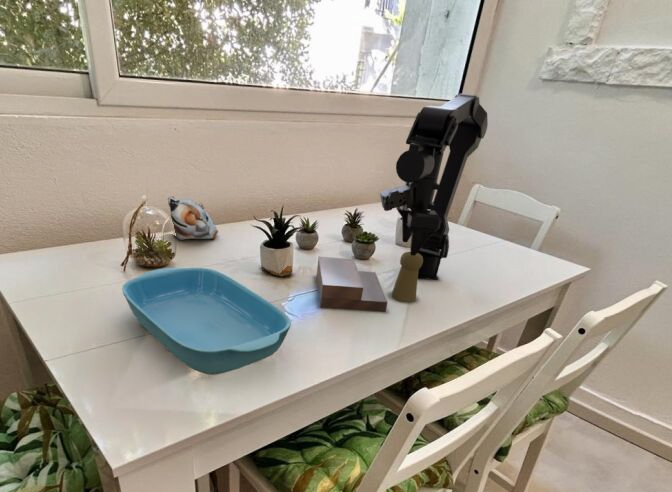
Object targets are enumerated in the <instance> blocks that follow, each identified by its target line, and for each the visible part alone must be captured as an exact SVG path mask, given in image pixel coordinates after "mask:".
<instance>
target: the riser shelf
mask: <svg viewBox="0 0 672 492" xmlns="http://www.w3.org/2000/svg"><path fill="white" fill-rule="evenodd" d="M315 277H316V286H317V294H318V301H319V307H320V308H321V309H335V310H348V311H349V310H351V311H364V312H365V311H366V312H381V313H386V312H387V311H386V310H387V306H388V299H387V298H386V295H385V293H384V290H383V287H382V285H381V283H380V281H379V278H378V275H377V273H376V272H375V271H364V270H358V268H357V264H356V262H355V259H354V258H344V257H343V258H342V257H330V256H318V257H317V267H316V276H315Z"/></svg>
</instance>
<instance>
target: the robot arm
mask: <svg viewBox="0 0 672 492" xmlns="http://www.w3.org/2000/svg"><path fill="white" fill-rule="evenodd" d="M487 130H488V112H487V111H486V110H485V108H484V107H483V106H482V105H481V103H480V97H479V96H477V95H475V94H467V93H459V94H456V95H455V96H454V98H452V99H449V101H447V102H445V103H444V104H441V105H424V106H423V107H422V108H421V109H420V111H419V112H418V113H417V114H416V116H415V119H414V120H413V123H412V126H411V128H410V131H409V133H408V136H407V138H406V140H405V145H409V147H408V150H405V151H403V152H402V153H401V154H400V155H399V157H398V159H397V161H396V164H395V171H396V174H397V177H398V178H399V179H400V180H401V181H402V182H405V183H404V185H401V186H400V185H399V186H395V187H392V188H388V189H385V190H382V191H380V192H379V196H380V201H381V207H382V208H383V211H385V212H388V211H392V210H393V209H396V211H397V212H398V214H399V215H400V216H401V234H402V243H408V242H409V241H410V250H409V252H410V255H413V256H415V255H416V254H417V253H418V254H420V255H421V256H422V257H423V263H422V266H421V267H420V268H419V270H418V279H421V280H431V281H432V280H434V281H438V280H439V276H438V273H439V269H440V264H441V261H442V259H447V258H448V255H449V251H450V250H449V249H450V236H449V232H450V226H449V222H448V216H449V213H450V210H451V207H452V204H453V201H454V198H455V197H456V196H455V195H456V193H457V189H458V187H459V183H460V181H461V179H462V178H461V177H462V175H463V173H464V169H465V166H466V163H467V160H468V158H469V157H470V156H471V155H472V154H473V153H474V152H475V151H476V150H477V149H478V148H479V146H480V143H481V141H482V140H483V139H484V138H485V136H486V134H487ZM447 147H448V148H449V152H448V156H447V159H446V162H445V165H444V168H443V171H442V174H441V177H440V180H439V183H438V179H439V175H440V171H441V166H442V163H443V158H444V152H445V150H446V148H447Z"/></svg>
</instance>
